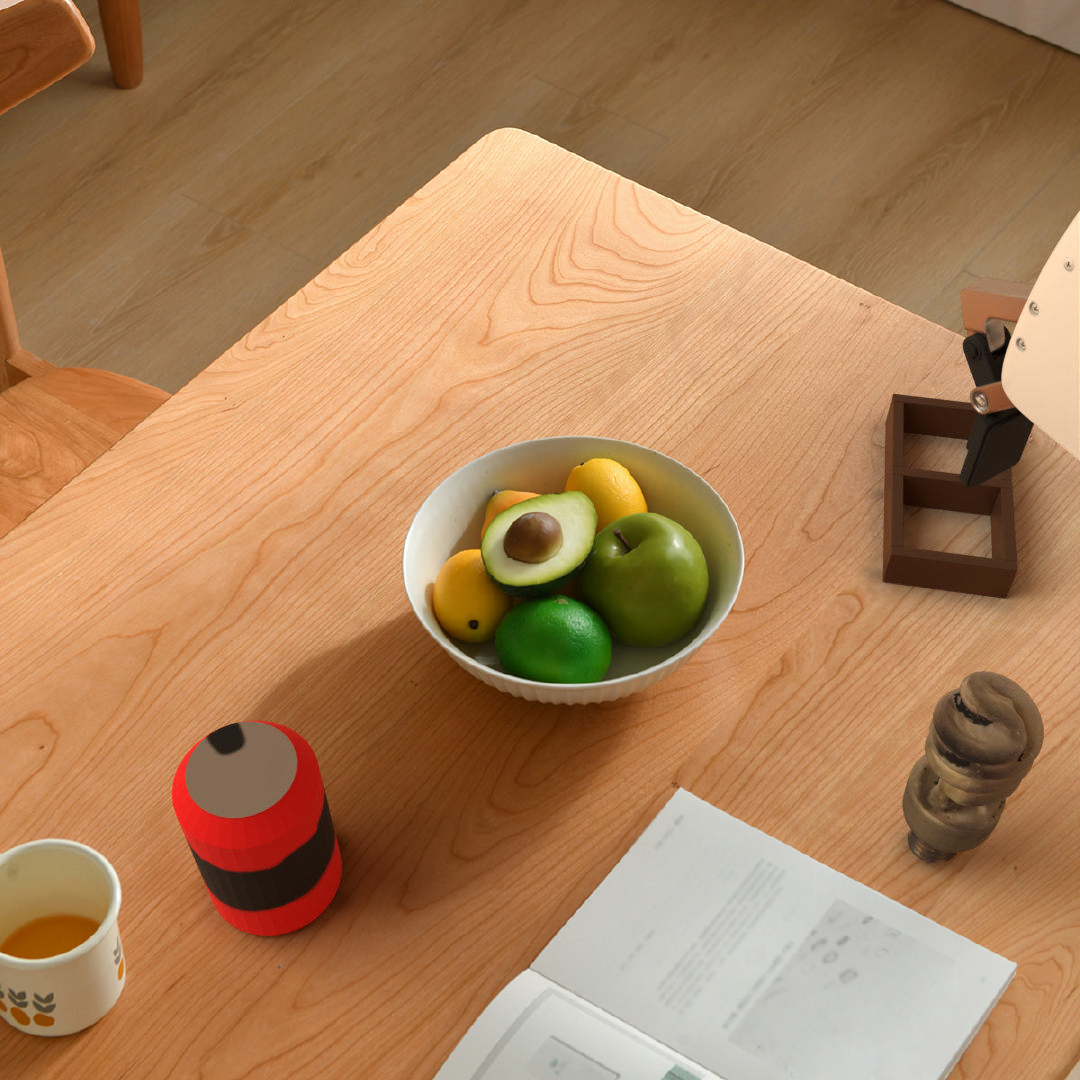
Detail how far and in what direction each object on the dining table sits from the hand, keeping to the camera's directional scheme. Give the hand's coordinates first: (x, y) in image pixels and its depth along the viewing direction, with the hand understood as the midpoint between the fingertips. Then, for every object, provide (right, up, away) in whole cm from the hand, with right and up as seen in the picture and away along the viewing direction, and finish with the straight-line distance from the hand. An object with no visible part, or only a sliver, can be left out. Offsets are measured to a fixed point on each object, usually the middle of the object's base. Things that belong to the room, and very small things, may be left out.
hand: (1068, 542), depth 58 cm
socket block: (+6, +3, +38) cm, 38 cm away
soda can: (-38, -19, +20) cm, 47 cm away
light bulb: (0, -18, +21) cm, 28 cm away
